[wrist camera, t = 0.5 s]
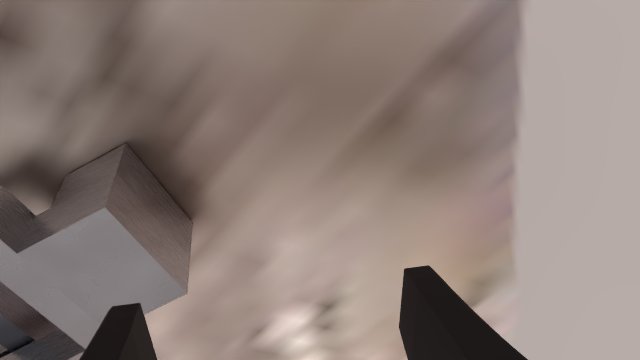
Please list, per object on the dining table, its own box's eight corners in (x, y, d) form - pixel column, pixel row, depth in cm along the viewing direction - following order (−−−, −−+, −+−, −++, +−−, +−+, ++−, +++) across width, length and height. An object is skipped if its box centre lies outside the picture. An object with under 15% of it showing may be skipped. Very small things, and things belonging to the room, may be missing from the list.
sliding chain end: (11, 346, 24) (-25, 431, 20) (-136, 241, 20) (-212, 324, 16) (212, 245, 22) (210, 317, 19) (99, 111, 18) (70, 171, 15)
